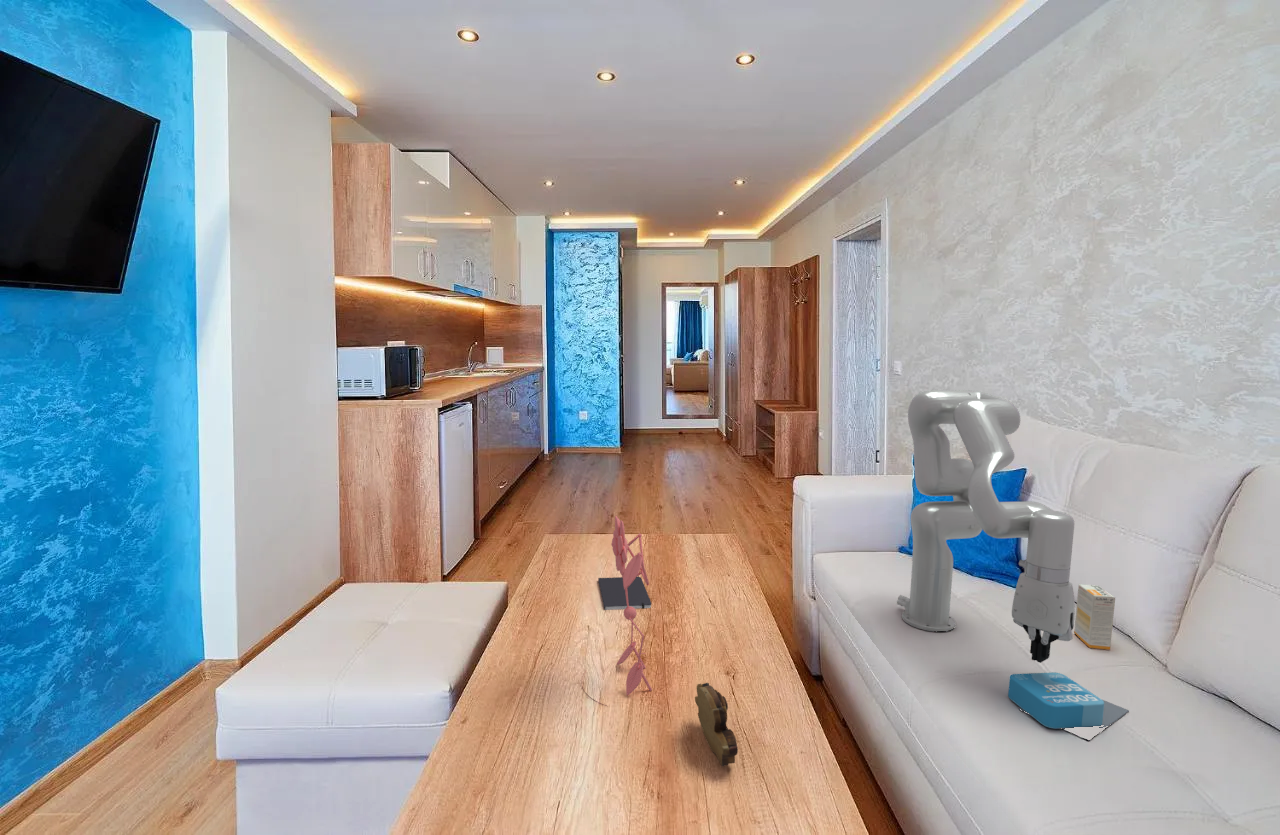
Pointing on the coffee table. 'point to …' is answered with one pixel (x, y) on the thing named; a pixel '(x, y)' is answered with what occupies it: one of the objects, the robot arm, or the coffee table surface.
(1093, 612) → the supplement box
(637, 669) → the pink leafy sprig
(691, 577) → the coffee table surface
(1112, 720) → the mat
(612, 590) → the notebook
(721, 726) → the wooden carving
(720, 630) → the coffee table surface
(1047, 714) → the data package
